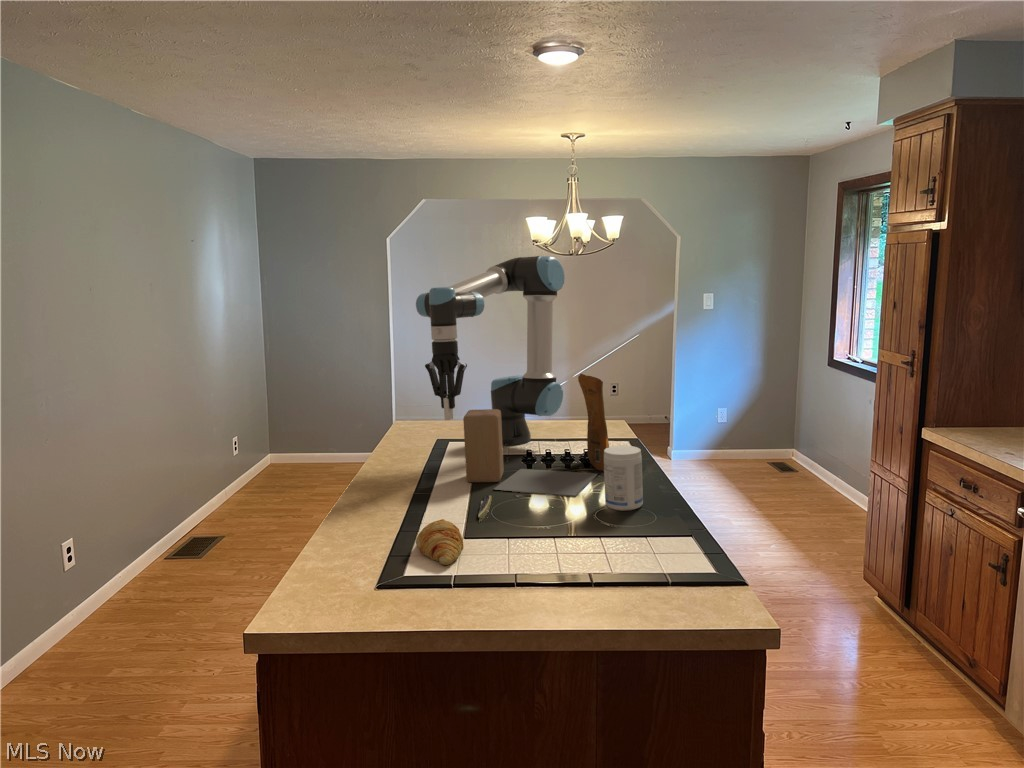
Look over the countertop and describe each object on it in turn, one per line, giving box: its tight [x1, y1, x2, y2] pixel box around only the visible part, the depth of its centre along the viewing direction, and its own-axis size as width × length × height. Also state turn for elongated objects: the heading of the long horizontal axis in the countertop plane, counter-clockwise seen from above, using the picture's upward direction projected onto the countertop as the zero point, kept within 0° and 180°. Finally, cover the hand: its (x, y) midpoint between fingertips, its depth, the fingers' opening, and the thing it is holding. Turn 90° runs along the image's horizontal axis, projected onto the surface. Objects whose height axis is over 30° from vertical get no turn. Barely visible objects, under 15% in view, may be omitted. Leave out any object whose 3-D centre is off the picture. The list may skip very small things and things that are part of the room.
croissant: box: [415, 519, 464, 566], centre depth 165 cm, size 21×10×8 cm, turn 15°
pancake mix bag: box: [577, 373, 610, 472], centre depth 230 cm, size 7×19×28 cm, turn 8°
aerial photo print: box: [477, 494, 532, 524], centre depth 192 cm, size 25×19×2 cm
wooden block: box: [462, 408, 505, 483], centre depth 220 cm, size 10×10×20 cm
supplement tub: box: [603, 445, 644, 512], centre depth 190 cm, size 10×10×15 cm
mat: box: [493, 468, 598, 498], centre depth 215 cm, size 22×24×1 cm
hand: (448, 419), depth 223 cm, fingers closed
